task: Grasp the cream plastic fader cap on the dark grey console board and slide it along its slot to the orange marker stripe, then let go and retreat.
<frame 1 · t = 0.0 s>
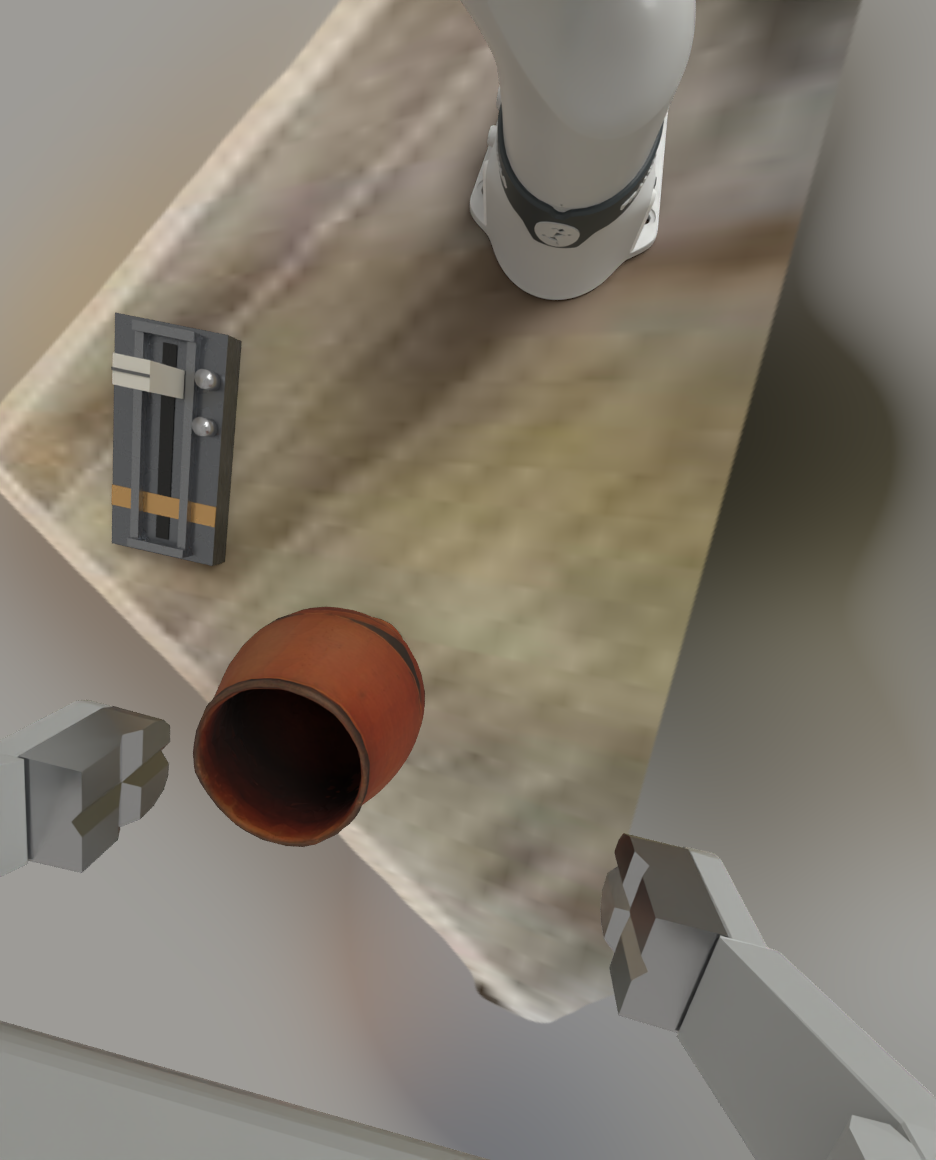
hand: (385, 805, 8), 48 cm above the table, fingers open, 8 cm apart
console: (181, 446, 56), on the table
fader cap: (149, 377, 50), point 5 cm above the table, slide at -7.0 cm
terracotta clay pot: (373, 648, 60), on the table
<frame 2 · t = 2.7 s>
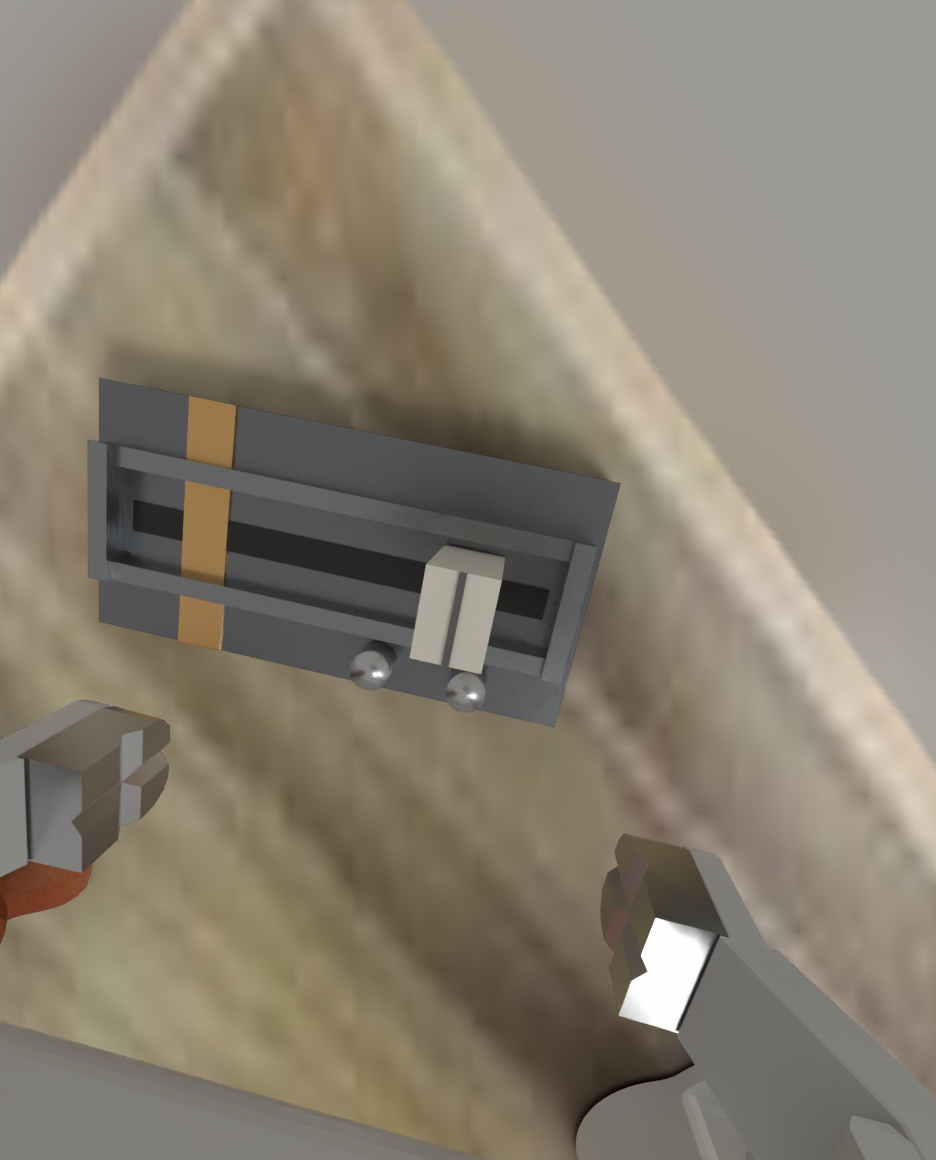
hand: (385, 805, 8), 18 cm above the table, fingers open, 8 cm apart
console: (351, 550, 27), on the table
fader cap: (461, 603, 21), point 5 cm above the table, slide at -7.0 cm
terracotta clay pot: (41, 848, 34), on the table
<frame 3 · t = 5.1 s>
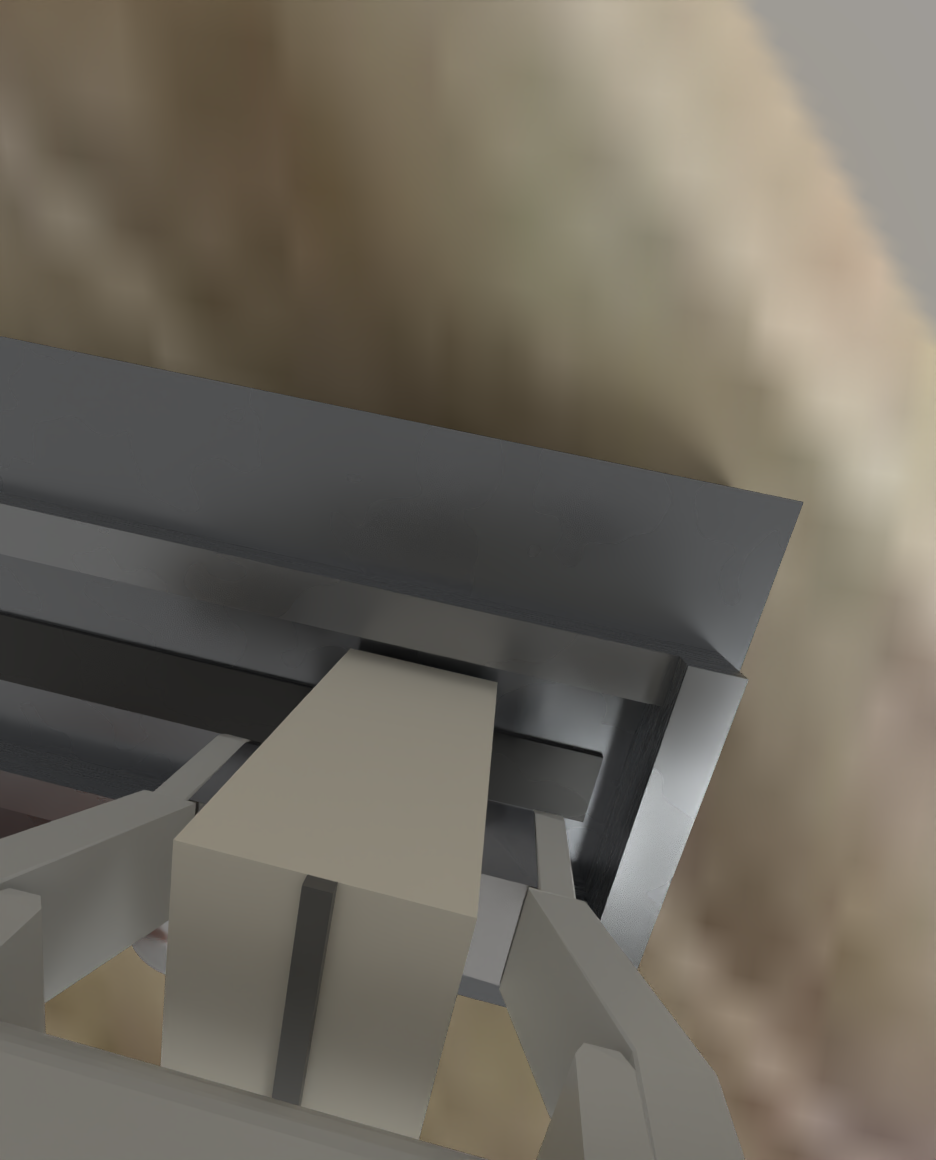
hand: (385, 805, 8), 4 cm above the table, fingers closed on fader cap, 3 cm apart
console: (180, 631, 13), on the table
fader cap: (369, 847, 7), point 5 cm above the table, slide at -7.0 cm, touching gripper
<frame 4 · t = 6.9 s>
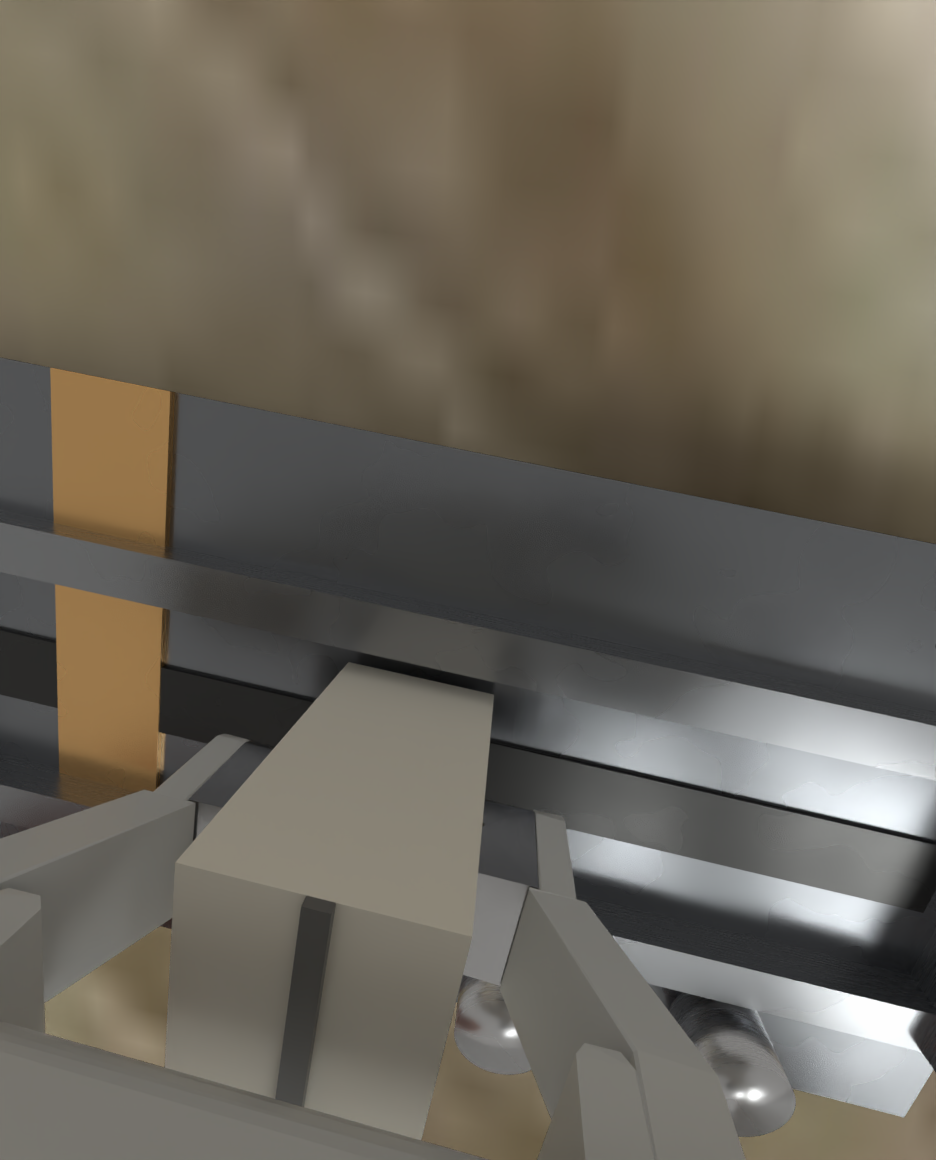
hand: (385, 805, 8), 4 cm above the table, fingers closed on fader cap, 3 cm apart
console: (434, 702, 13), on the table
fader cap: (368, 861, 7), point 5 cm above the table, slide at 0.2 cm, touching gripper
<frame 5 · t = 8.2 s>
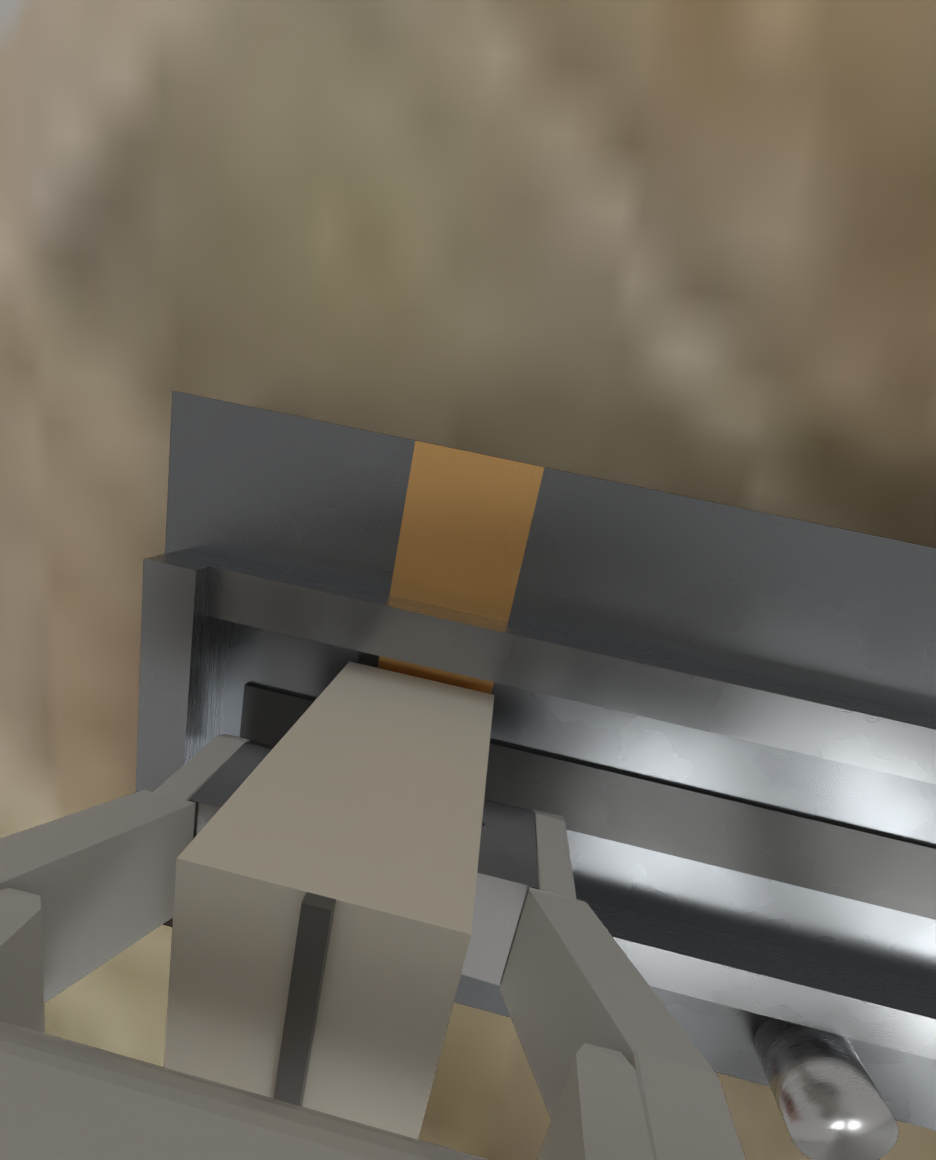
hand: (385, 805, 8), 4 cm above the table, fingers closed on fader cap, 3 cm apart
console: (697, 763, 12), on the table
fader cap: (367, 860, 7), point 5 cm above the table, slide at 7.2 cm, touching gripper
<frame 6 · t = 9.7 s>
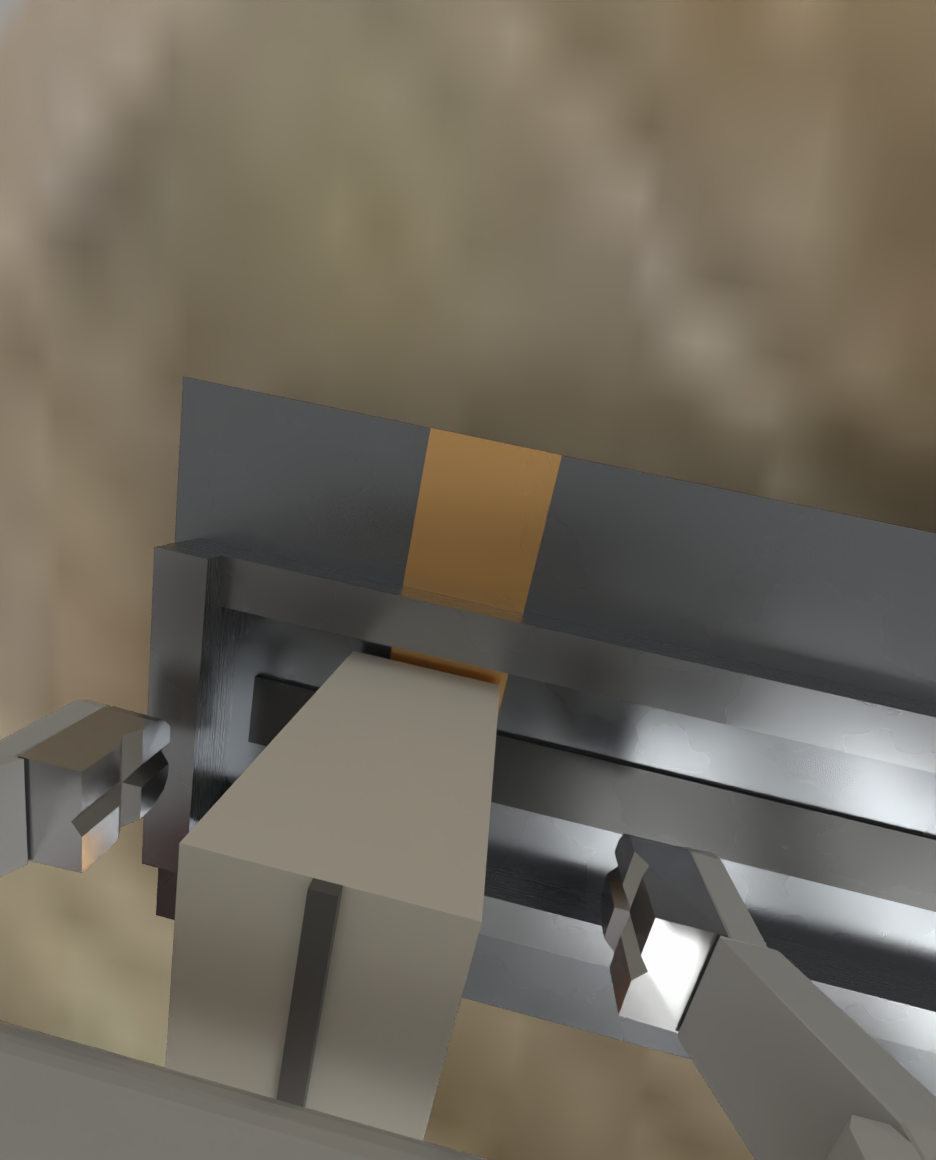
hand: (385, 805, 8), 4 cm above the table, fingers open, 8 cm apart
console: (710, 758, 12), on the table
fader cap: (372, 850, 7), point 5 cm above the table, slide at 7.4 cm
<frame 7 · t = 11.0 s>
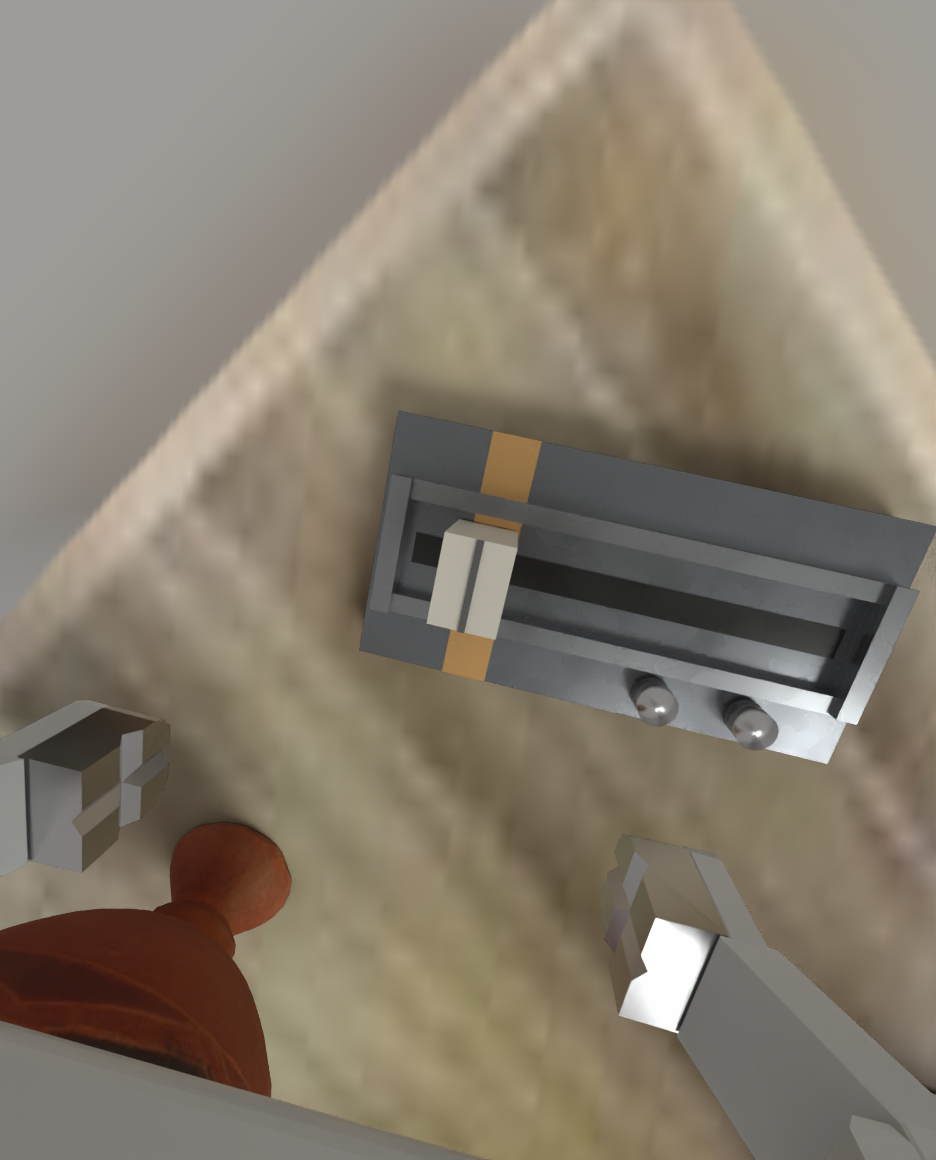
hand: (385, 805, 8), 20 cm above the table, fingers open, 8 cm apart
console: (612, 582, 26), on the table
fader cap: (475, 574, 22), point 5 cm above the table, slide at 7.4 cm
terracotta clay pot: (237, 868, 34), on the table
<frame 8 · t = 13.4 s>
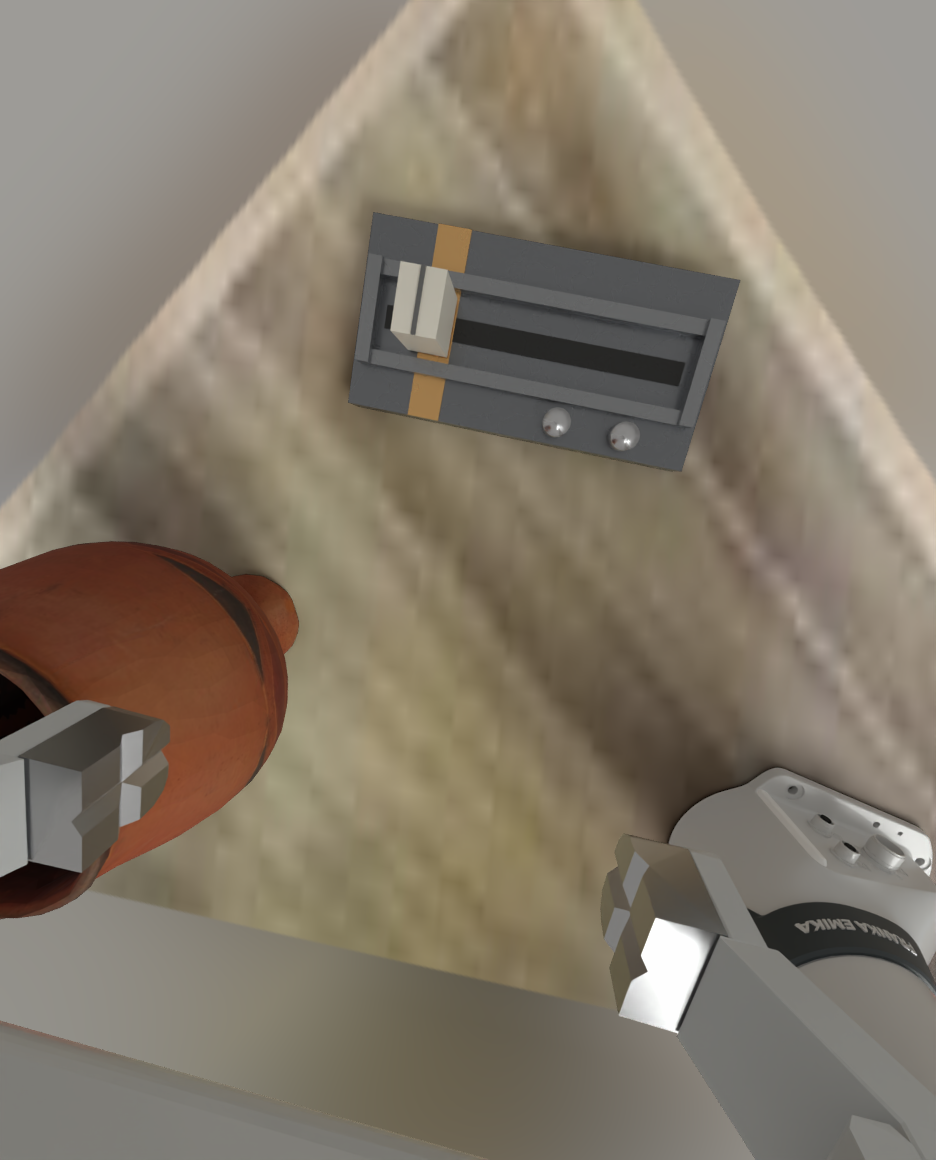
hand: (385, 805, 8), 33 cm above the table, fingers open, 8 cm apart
console: (530, 353, 37), on the table
fader cap: (425, 313, 32), point 5 cm above the table, slide at 7.4 cm
terracotta clay pot: (257, 616, 44), on the table
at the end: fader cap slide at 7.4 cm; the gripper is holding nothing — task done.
